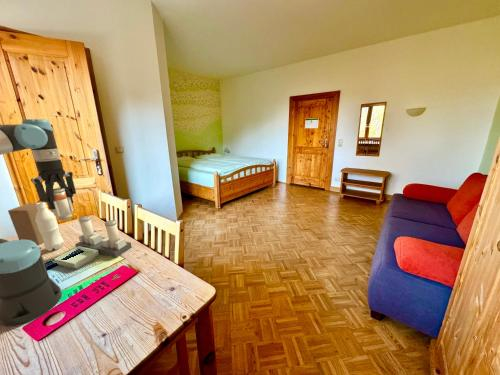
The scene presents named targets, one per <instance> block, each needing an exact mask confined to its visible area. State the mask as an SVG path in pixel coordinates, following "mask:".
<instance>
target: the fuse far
mask: <svg viewBox="0 0 500 375" xmlns="http://www.w3.org/2000/svg"><path fill="white" fill-rule="evenodd" d="M77 220H78V223H79V226H80V229H81V232H82V233H81V234H83V236H84V241H85V243H90V242H89V237H91V236H93V235H95V232H94V227H93V224H92V220H91V216H89V215H85V216H82V217H79V218H78V219H77Z"/></svg>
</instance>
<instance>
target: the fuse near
mask: <svg viewBox="0 0 500 375" xmlns="http://www.w3.org/2000/svg"><path fill="white" fill-rule="evenodd" d="M104 226H105V229H106V234H107V237H108V238H109V242H110V248H112V249H114V248H116V246H115V242H117V241H119V240H120V239H121V238H120V233H119V229H118V224H117V220H116V219H110V220H107V221H105V222H104Z"/></svg>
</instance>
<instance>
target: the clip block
mask: <svg viewBox="0 0 500 375" xmlns="http://www.w3.org/2000/svg"><path fill="white" fill-rule="evenodd" d="M77 237H78V240H79V242H76V243H75V244H74V245H75V248H76V247H78V246H80V247H85V248H90V249H94V250H98V252H99V255H100V256H101V255H102V256H106V257H110V258H114V259H117V258H118V257H120V256H121V255H123V254H124V253H126V252H127V251H129V250H131V248H132V242H131V241H127V240H126V238H125V237H124V238H123V237H121V238H120V240H119V241H117V242H115V246H116V248H114V249H112V248H110V242H109V238H108V236H107V237H104V236H103V234H101V233H94V235H93V236H91V237H89V242H90V243H85V241H84V236H83V233H81V234H80V235H78V236H77Z"/></svg>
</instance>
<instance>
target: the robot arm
mask: <svg viewBox="0 0 500 375" xmlns="http://www.w3.org/2000/svg"><path fill="white" fill-rule="evenodd" d="M21 122H22V123H21V124H0V156H1V155H5V154H8V153H9V154H10V153H15V152H18V151H23V150H31V154H32V156H33V160H35V162H34V163H35V165H36V169H37V171H38V175H37V176H36V177H35V178H30V182H32V184H33V185H34V187H35V190H36V194H37V195H38V199H39V201H40V202H45V203H46V204H47V207H48V210H50V211H51V210H52V213H53V214H54V216H56V217H58V216H61V215H60V212H59V208H58V205H57V202H56V201H54V196H53V189H54V186H55V183H56V184H58V185H59V188H64V189H65V193H66V196H67V200H68V204H69V207H70V210H71V213H72V212H74V207H73V203H74V199H73V197H74V195H76V194H77V191H76V187H75V186H76V185H75V183H74V180H73V175H74V174H73V172H72V171H65V170H64V166H63V163H62V160H61V159H60V158H61V155H60V153H59V149H58V146H57V142H56V138H55V135H54V130H53V127H52V125H51V122H50V121H49V120H47V119H42V118H38V119H37V118H34V119H33V118H30V119H27V118H25V119H22V121H21ZM64 177H65V179H64ZM43 181H44V185H45V187H44V185H43V183H42V182H43ZM41 253H42V252H41V249H40V247H39V245H37V244H36V243H35V242H33V241H31V240H19V239H15V240H6V239H4V238H0V325H2V326H4V327H5V326H6V327H12V326H14V327H15V326H19V325H22V324H25V323H27V322H30V321H33V320H34V319H36V318H39V317H40V316H42V315H44V314H45V313H47V312H48V311H49V310H51V309H52V308H54V307H55V306H56V305H57V304H58V303H59V302H60V300H61V299H62V296H63V292H62V288H61V287H60V286H59V285H58V283H56V282H55V281H53V279H51V278H50V276H49V273H48V270H47V268H46V265H45V262H44V258H43V256H42V254H41Z"/></svg>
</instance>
